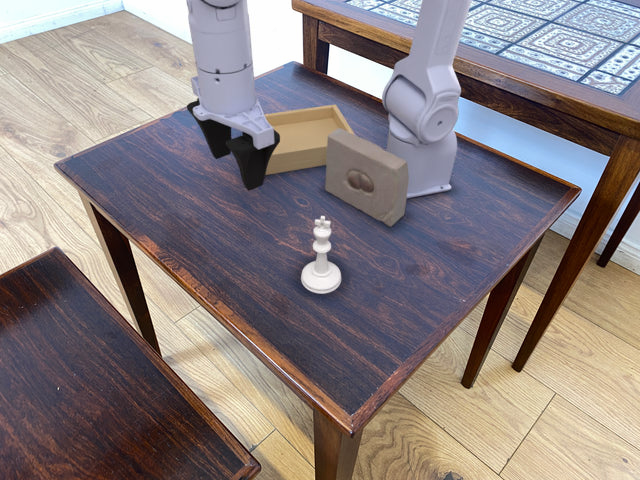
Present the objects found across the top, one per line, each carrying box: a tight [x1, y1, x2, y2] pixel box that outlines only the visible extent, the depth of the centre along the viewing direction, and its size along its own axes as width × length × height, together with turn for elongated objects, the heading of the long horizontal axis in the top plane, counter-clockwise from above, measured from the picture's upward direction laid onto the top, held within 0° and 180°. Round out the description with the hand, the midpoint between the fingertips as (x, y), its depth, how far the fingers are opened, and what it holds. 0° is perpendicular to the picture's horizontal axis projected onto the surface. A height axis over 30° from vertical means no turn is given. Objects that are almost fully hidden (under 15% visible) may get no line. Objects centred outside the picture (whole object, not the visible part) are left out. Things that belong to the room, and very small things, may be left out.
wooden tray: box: [264, 104, 356, 176], centre depth 80 cm, size 16×12×4 cm
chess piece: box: [300, 215, 342, 295], centre depth 58 cm, size 5×5×10 cm
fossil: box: [324, 128, 409, 228], centre depth 68 cm, size 12×4×10 cm, turn 49°
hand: (237, 170), depth 60 cm, fingers open, 7 cm apart
